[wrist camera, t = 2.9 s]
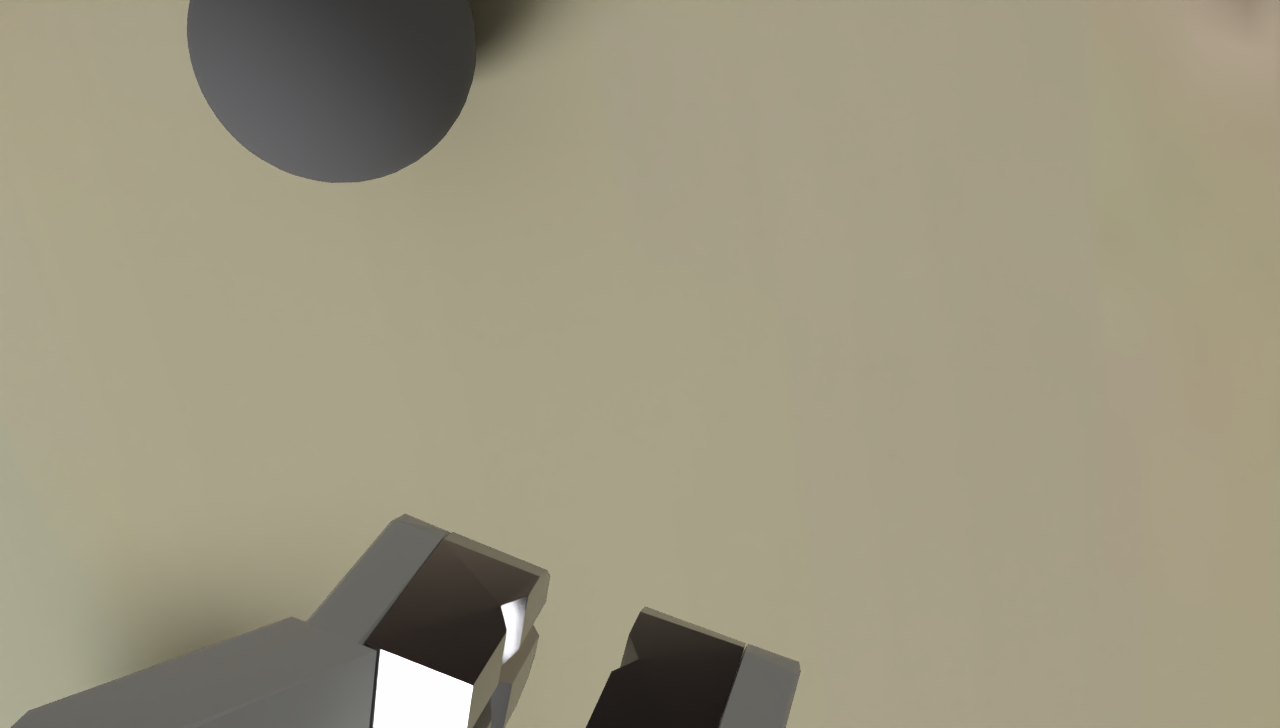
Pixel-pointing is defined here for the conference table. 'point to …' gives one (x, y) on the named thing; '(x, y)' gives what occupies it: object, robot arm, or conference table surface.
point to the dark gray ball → (334, 79)
